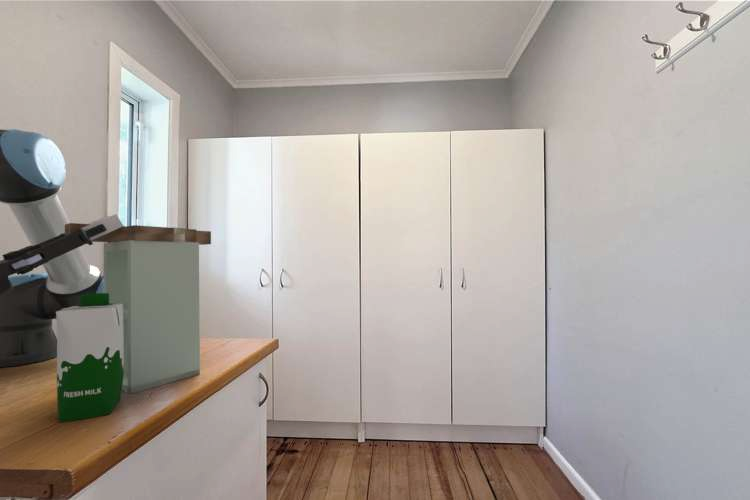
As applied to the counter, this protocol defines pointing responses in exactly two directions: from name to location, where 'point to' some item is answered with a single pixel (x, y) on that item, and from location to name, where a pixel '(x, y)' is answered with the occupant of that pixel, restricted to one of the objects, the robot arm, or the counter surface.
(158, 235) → the banded slat
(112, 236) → the plain slat
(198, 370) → the shelf unit
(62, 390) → the milk carton
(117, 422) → the counter surface
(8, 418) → the counter surface
